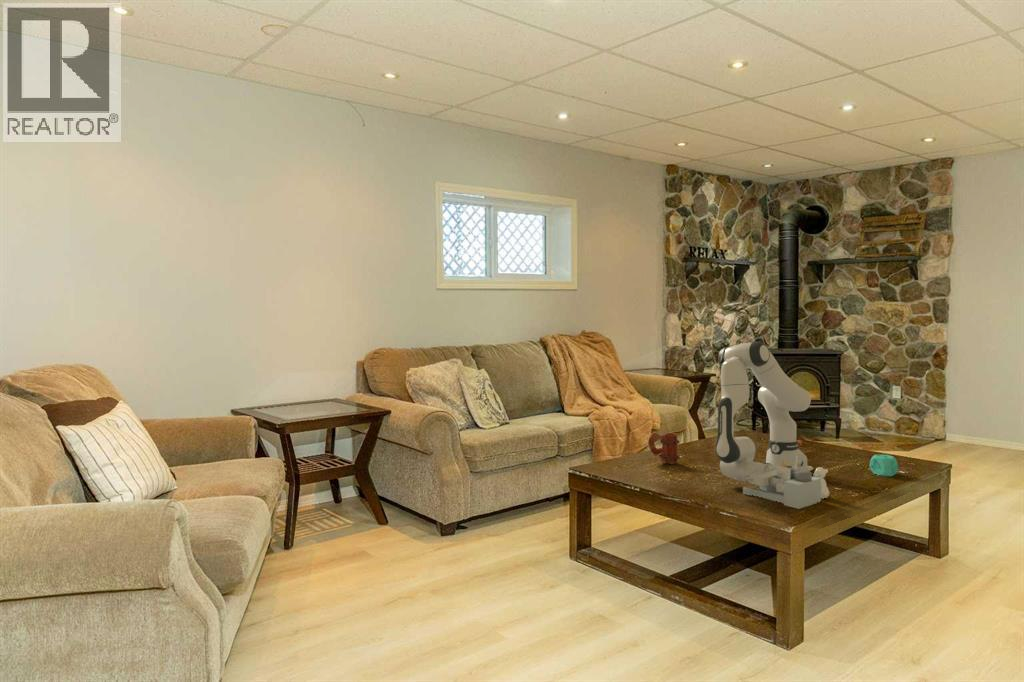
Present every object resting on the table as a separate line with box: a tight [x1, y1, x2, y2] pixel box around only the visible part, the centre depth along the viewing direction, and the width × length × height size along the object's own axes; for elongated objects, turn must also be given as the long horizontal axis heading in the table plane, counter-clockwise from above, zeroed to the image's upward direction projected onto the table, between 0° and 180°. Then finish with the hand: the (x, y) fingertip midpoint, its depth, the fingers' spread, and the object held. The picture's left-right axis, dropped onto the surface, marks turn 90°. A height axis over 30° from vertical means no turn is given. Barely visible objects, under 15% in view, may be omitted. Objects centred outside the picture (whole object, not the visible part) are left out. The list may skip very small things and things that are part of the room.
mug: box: [648, 431, 680, 465], centre depth 322 cm, size 15×8×15 cm, turn 84°
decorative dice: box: [869, 454, 899, 477], centre depth 299 cm, size 8×8×8 cm
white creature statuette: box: [812, 466, 830, 500], centre depth 265 cm, size 10×9×12 cm
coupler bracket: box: [742, 470, 822, 510], centre depth 264 cm, size 15×25×12 cm, turn 36°
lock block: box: [775, 461, 798, 495], centre depth 262 cm, size 5×6×14 cm
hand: (789, 480), depth 261 cm, fingers closed on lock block, 5 cm apart
